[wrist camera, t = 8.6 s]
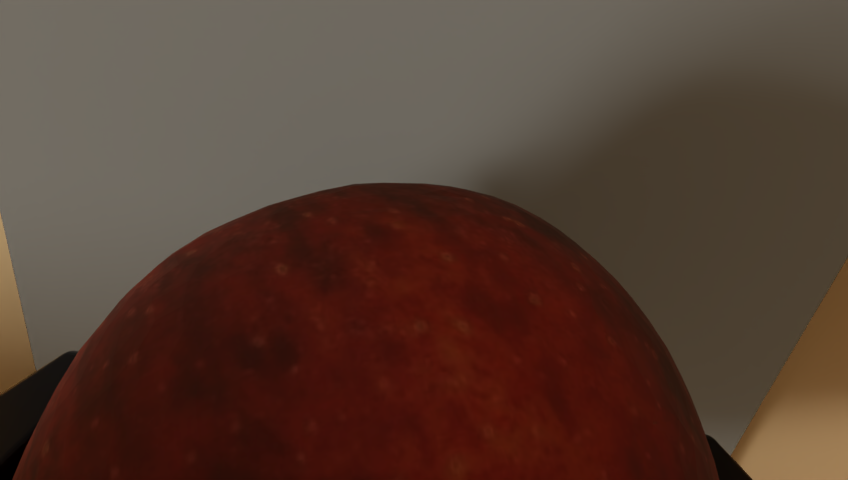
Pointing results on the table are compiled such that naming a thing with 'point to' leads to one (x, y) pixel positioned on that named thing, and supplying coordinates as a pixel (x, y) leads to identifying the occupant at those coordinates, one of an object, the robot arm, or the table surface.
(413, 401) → the apple
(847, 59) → the mat
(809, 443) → the table surface
